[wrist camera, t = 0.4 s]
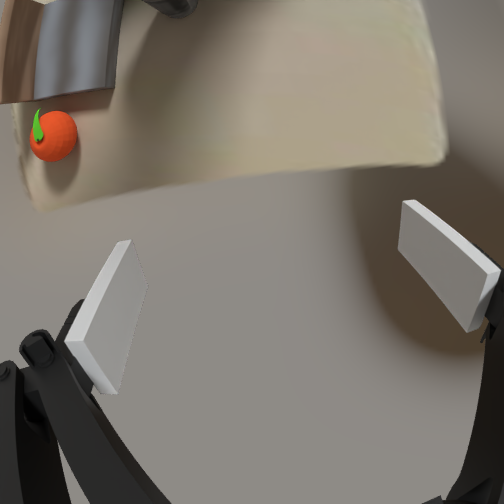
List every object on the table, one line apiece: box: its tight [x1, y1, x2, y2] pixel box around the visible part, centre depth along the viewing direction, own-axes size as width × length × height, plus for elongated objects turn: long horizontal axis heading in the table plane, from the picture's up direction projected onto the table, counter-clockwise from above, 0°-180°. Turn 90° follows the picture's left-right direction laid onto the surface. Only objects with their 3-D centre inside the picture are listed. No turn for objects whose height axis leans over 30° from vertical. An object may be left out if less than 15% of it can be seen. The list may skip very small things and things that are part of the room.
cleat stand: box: [0, 0, 124, 104], centre depth 25 cm, size 14×15×10 cm
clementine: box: [30, 110, 77, 162], centre depth 32 cm, size 8×7×7 cm
